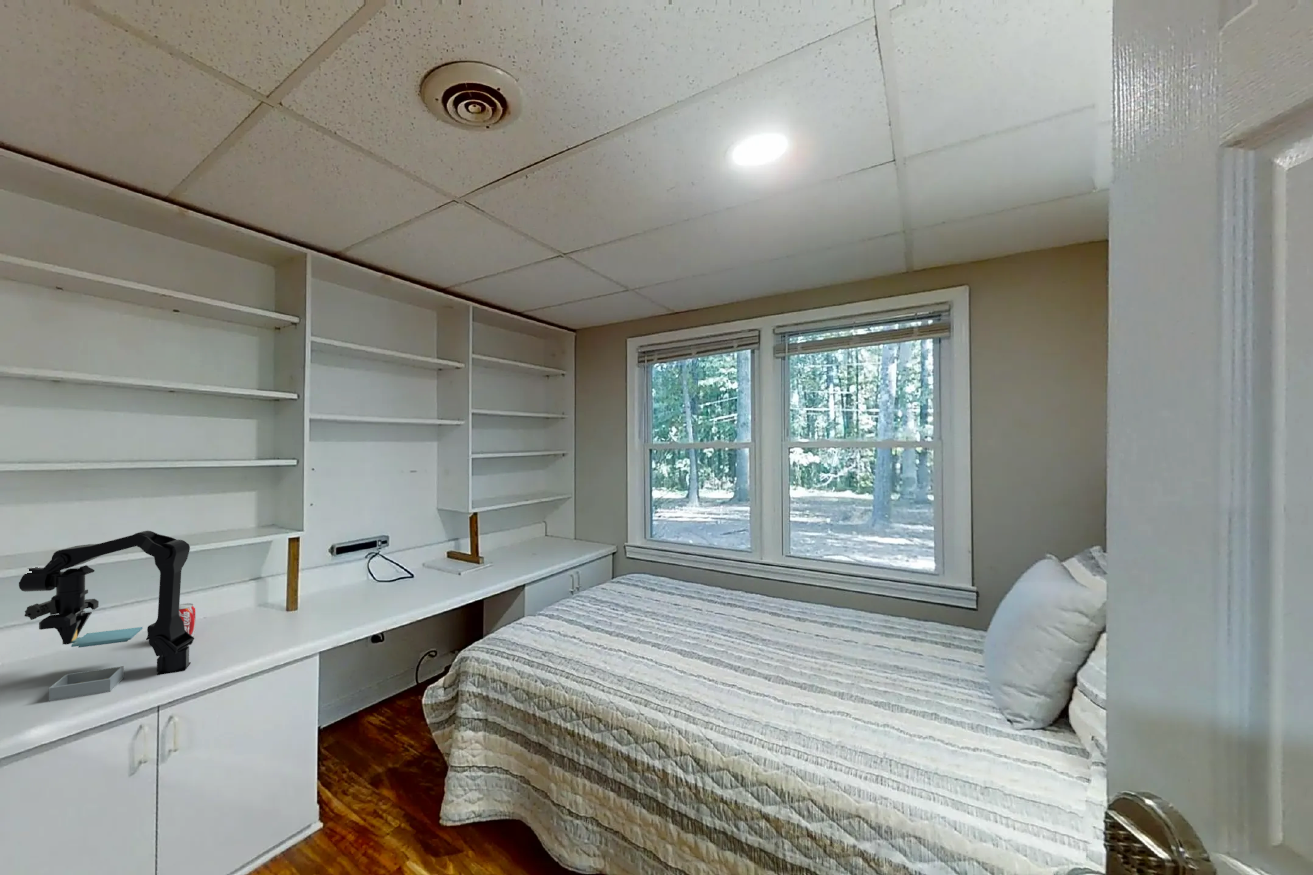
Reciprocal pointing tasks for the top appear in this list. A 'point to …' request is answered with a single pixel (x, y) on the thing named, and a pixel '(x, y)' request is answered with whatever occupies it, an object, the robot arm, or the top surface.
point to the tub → (86, 683)
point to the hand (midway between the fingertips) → (70, 642)
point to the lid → (104, 637)
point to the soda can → (188, 617)
